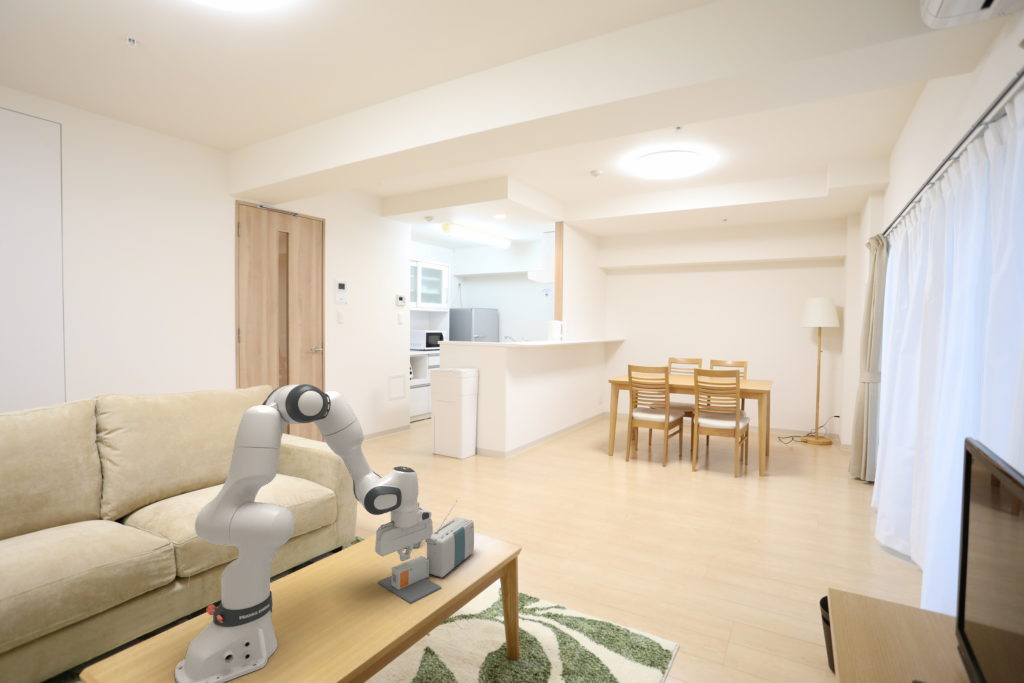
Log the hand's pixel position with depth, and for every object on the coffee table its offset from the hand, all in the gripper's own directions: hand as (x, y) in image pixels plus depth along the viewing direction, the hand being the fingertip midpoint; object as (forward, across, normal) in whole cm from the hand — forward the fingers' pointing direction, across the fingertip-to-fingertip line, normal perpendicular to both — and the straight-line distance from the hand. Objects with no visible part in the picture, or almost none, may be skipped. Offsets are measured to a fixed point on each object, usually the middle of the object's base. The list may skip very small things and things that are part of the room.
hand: (405, 559), depth 159 cm
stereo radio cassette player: (+10, +20, +1) cm, 22 cm away
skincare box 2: (+6, -3, +1) cm, 7 cm away
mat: (+9, +2, 0) cm, 9 cm away
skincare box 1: (+10, +20, +25) cm, 33 cm away
